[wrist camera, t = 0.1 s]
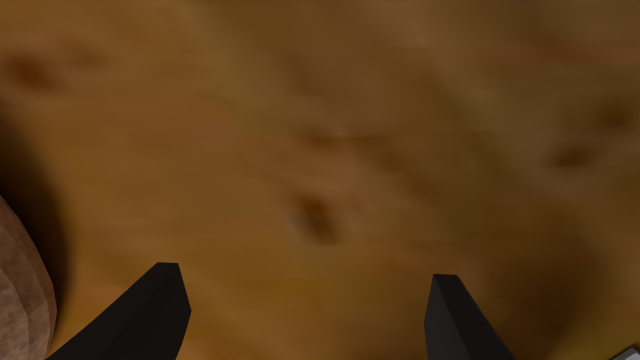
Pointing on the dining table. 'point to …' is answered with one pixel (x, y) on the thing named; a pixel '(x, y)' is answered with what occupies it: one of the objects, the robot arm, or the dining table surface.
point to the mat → (629, 355)
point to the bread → (23, 293)
